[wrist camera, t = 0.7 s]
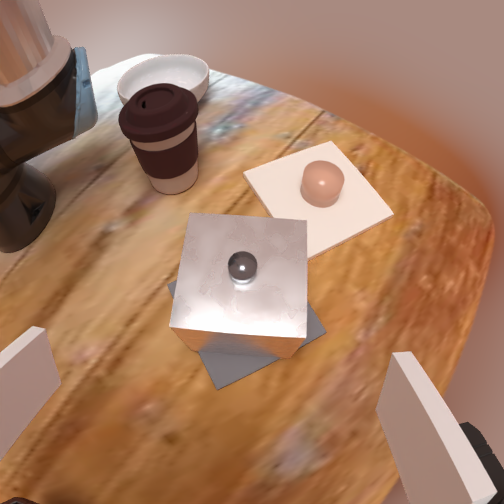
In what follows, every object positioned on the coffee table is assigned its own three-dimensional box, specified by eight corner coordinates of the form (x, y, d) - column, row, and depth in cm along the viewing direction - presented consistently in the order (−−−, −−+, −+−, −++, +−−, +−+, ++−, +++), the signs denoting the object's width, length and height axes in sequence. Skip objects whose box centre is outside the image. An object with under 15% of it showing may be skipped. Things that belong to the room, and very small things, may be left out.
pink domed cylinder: (292, 184, 45) (295, 167, 42) (324, 171, 47) (328, 155, 43) (314, 213, 43) (318, 198, 40) (346, 199, 44) (352, 183, 41)
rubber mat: (168, 285, 39) (167, 284, 39) (267, 239, 42) (268, 237, 42) (217, 389, 34) (217, 389, 33) (325, 333, 37) (326, 332, 36)
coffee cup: (217, 160, 49) (209, 80, 35) (190, 210, 44) (170, 129, 31) (162, 148, 50) (142, 73, 37) (131, 194, 46) (99, 119, 32)
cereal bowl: (157, 145, 51) (148, 113, 44) (111, 111, 56) (101, 84, 49) (229, 99, 56) (228, 68, 50) (176, 73, 61) (172, 46, 55)
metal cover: (203, 262, 40) (187, 205, 29) (293, 269, 40) (308, 213, 29) (191, 350, 35) (165, 322, 24) (289, 358, 35) (308, 334, 24)
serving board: (243, 176, 47) (243, 172, 46) (330, 145, 51) (331, 140, 50) (301, 264, 41) (302, 260, 40) (391, 217, 44) (393, 213, 43)
